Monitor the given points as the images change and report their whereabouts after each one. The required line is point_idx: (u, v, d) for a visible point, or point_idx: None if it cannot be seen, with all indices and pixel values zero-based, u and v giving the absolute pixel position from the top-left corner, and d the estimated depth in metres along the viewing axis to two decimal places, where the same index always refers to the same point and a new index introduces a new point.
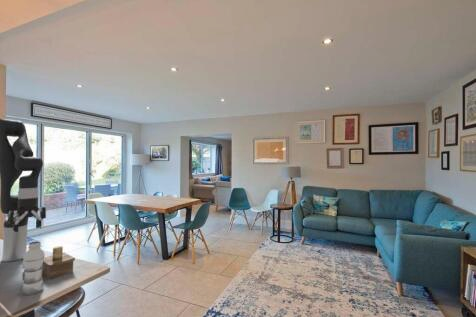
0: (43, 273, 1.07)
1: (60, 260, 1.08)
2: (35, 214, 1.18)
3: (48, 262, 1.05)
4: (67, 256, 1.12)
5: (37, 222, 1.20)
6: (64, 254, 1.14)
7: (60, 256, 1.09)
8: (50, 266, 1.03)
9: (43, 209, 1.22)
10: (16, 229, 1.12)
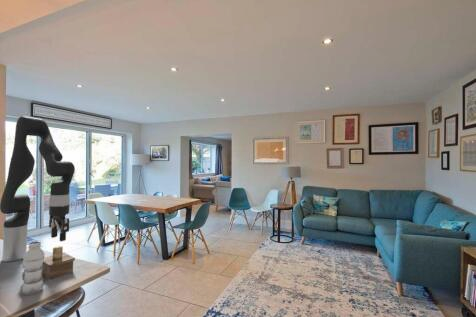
0: (43, 273, 1.07)
1: (60, 260, 1.08)
2: None
3: (48, 262, 1.05)
4: (67, 256, 1.12)
5: (55, 231, 1.12)
6: (64, 254, 1.14)
7: (60, 256, 1.09)
8: (50, 266, 1.03)
9: None
10: None
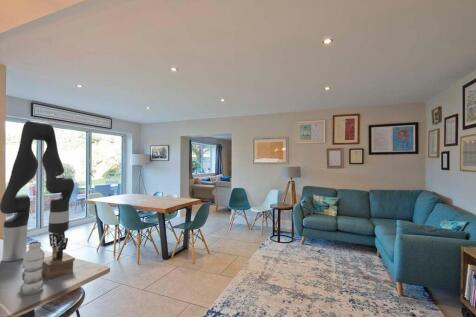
0: (43, 273, 1.07)
1: (60, 260, 1.08)
2: None
3: (48, 262, 1.05)
4: (67, 256, 1.12)
5: None
6: (64, 254, 1.14)
7: None
8: (50, 266, 1.03)
9: None
10: (62, 255, 1.09)
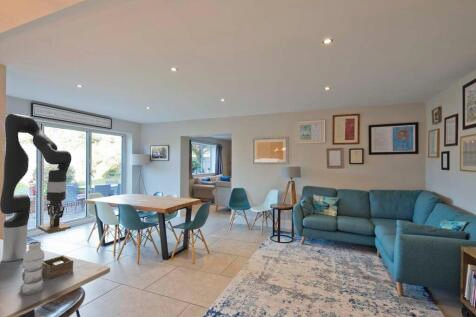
0: (43, 273, 1.07)
1: (57, 227, 1.15)
2: None
3: (45, 228, 1.13)
4: (63, 224, 1.19)
5: None
6: (61, 223, 1.22)
7: None
8: (47, 231, 1.10)
9: None
10: (58, 222, 1.16)
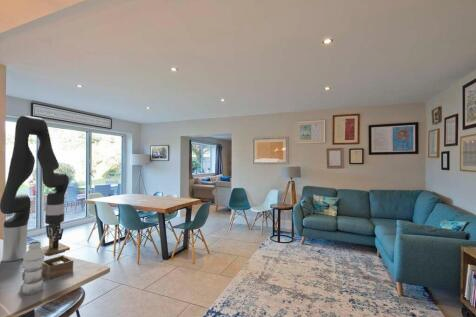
0: (43, 273, 1.07)
1: (56, 249, 1.16)
2: None
3: (45, 251, 1.14)
4: (62, 246, 1.21)
5: None
6: (60, 244, 1.23)
7: None
8: (47, 254, 1.12)
9: None
10: (58, 244, 1.18)
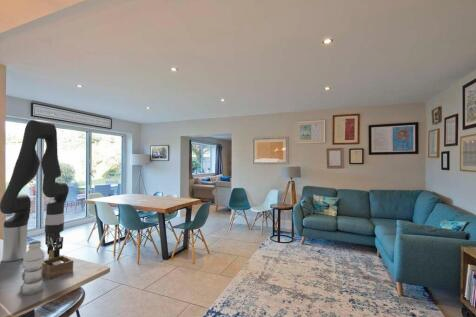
0: (43, 273, 1.07)
1: None
2: None
3: None
4: None
5: (51, 248, 1.20)
6: None
7: None
8: None
9: None
10: None
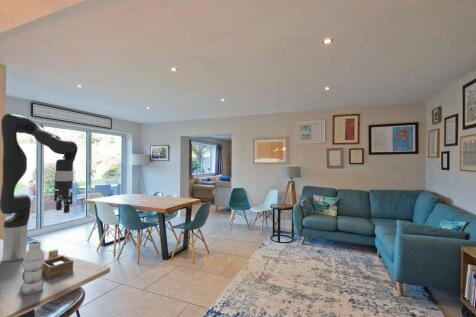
0: (43, 273, 1.07)
1: None
2: None
3: None
4: None
5: (59, 204, 1.22)
6: None
7: None
8: None
9: None
10: None
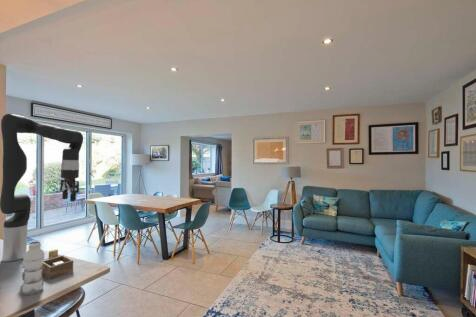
0: (43, 273, 1.07)
1: None
2: None
3: None
4: None
5: (65, 193, 1.24)
6: None
7: None
8: None
9: None
10: None
